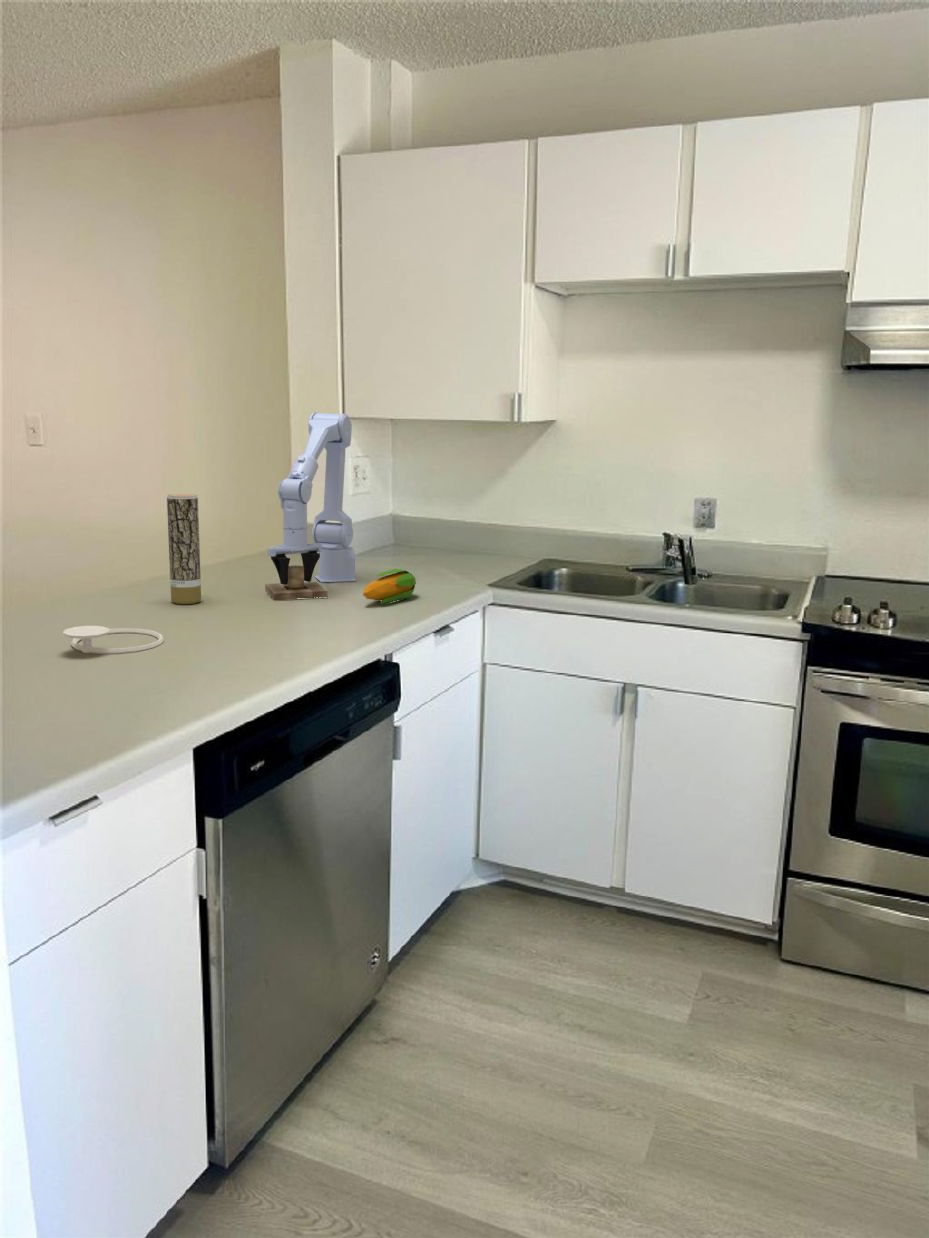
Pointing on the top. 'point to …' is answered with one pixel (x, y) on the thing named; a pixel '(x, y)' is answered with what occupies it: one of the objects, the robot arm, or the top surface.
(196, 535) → the paper tube
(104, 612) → the top surface
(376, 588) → the corn
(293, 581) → the peg
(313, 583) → the board
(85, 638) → the hand towel holder
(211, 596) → the top surface
